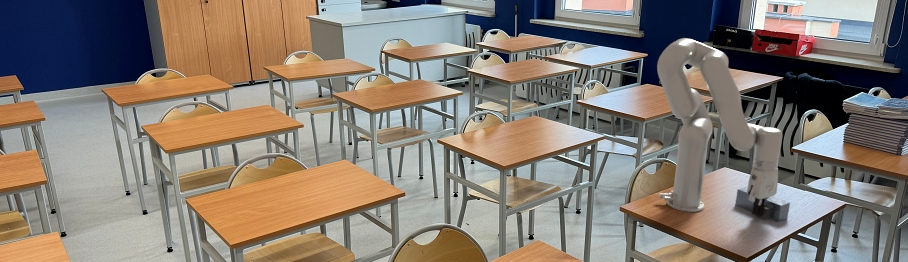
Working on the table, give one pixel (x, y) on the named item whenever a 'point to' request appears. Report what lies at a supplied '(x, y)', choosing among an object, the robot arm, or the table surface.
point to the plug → (767, 212)
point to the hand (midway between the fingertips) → (757, 214)
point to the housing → (779, 205)
